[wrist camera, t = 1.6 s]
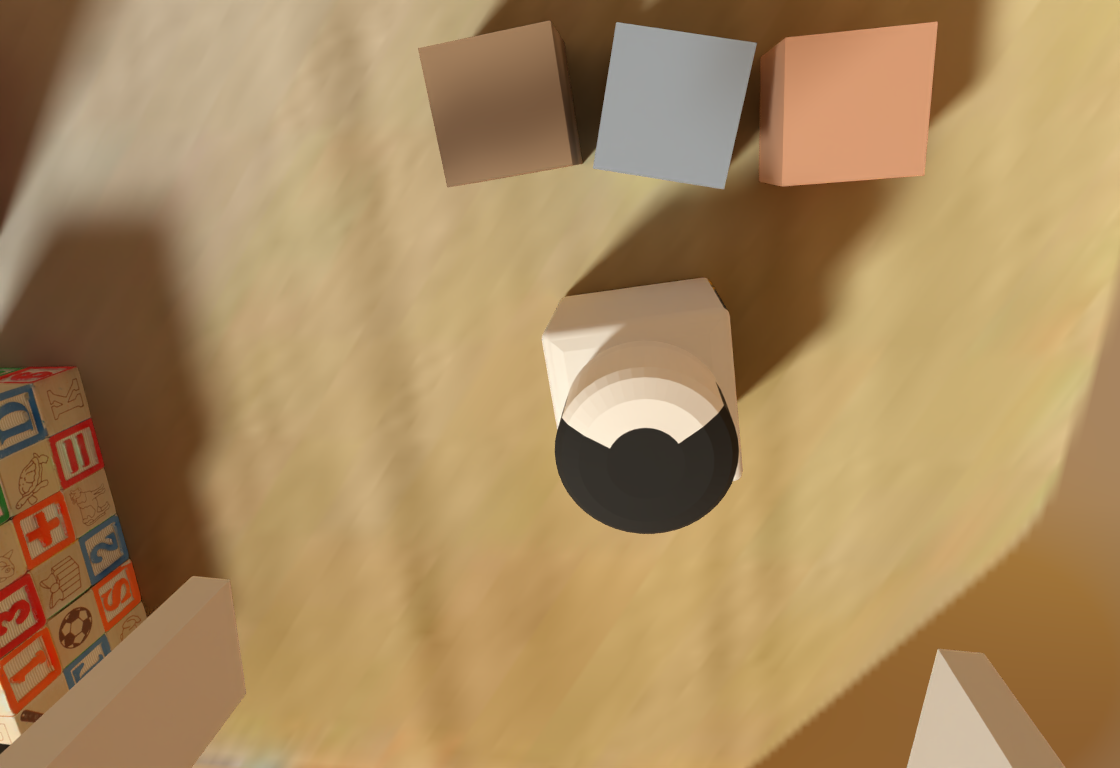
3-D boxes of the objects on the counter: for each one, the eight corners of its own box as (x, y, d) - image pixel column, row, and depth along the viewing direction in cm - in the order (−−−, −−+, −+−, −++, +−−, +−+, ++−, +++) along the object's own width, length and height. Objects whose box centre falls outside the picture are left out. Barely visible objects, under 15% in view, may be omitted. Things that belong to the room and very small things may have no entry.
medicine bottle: (722, 416, 33) (767, 551, 22) (581, 431, 34) (554, 567, 23) (709, 274, 31) (752, 343, 20) (559, 295, 32) (517, 371, 21)
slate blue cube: (619, 43, 28) (616, 22, 24) (736, 61, 28) (757, 42, 23) (599, 166, 30) (593, 168, 25) (710, 183, 30) (723, 189, 25)
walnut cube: (453, 65, 29) (418, 48, 25) (564, 42, 29) (550, 20, 24) (476, 182, 31) (447, 187, 26) (582, 163, 30) (572, 165, 25)
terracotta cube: (760, 57, 28) (785, 37, 23) (885, 44, 27) (937, 21, 23) (758, 181, 29) (782, 186, 25) (877, 172, 29) (924, 175, 24)
